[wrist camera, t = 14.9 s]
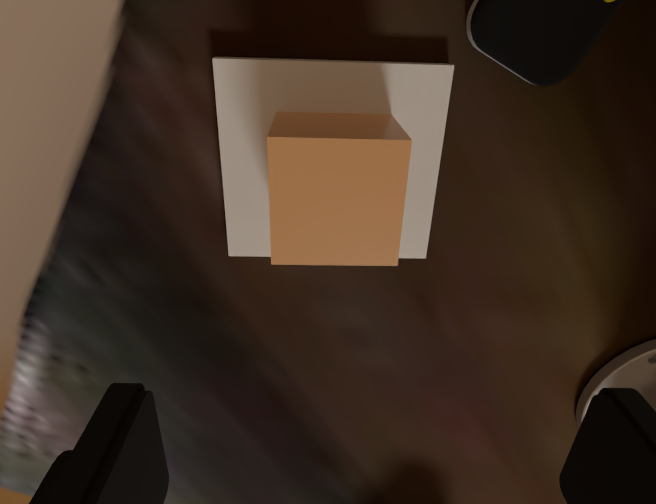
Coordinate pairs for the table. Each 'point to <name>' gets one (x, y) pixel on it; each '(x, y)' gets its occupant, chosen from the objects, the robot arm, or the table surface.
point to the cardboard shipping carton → (336, 188)
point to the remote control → (538, 34)
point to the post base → (324, 97)
